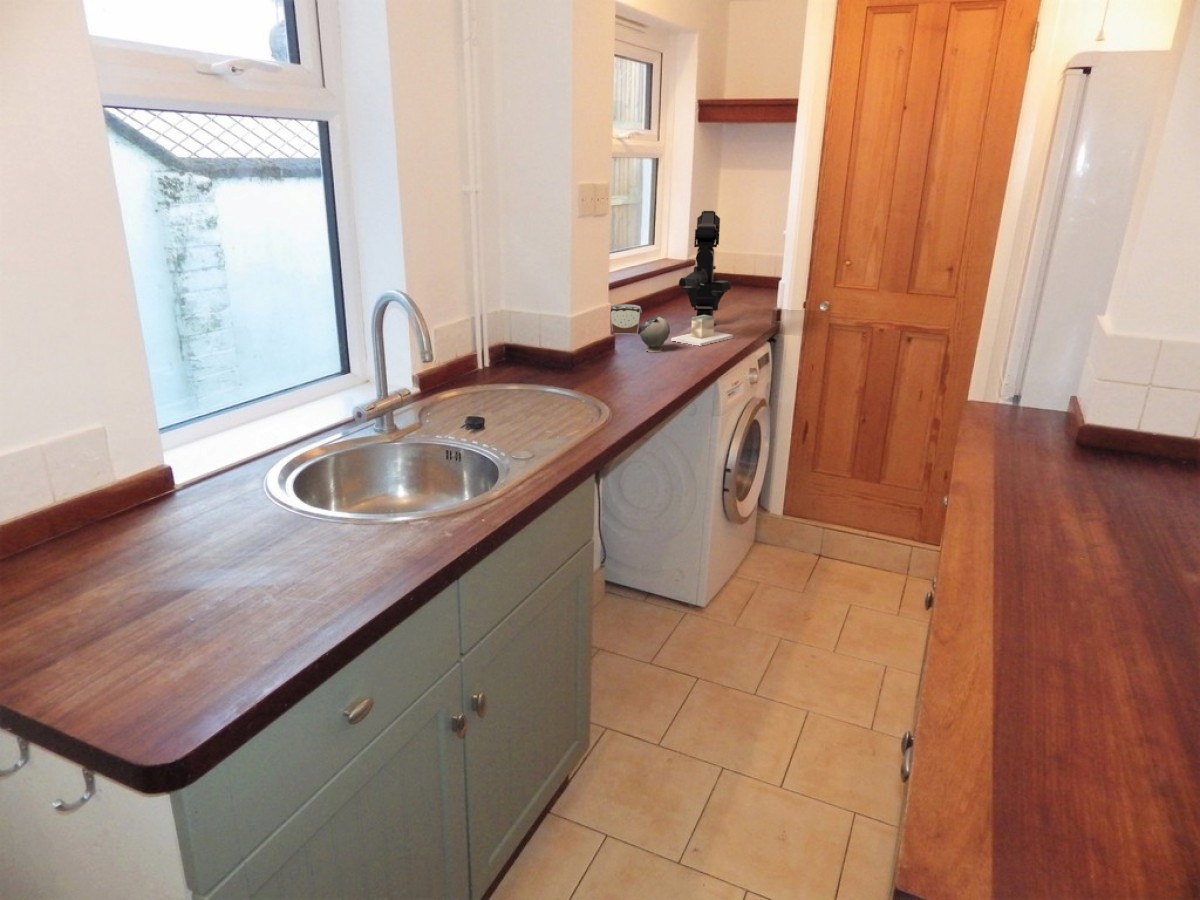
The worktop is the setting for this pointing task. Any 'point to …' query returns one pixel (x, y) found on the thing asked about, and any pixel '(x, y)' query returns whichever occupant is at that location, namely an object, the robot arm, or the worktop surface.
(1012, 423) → the worktop surface
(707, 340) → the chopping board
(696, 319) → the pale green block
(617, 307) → the food container
